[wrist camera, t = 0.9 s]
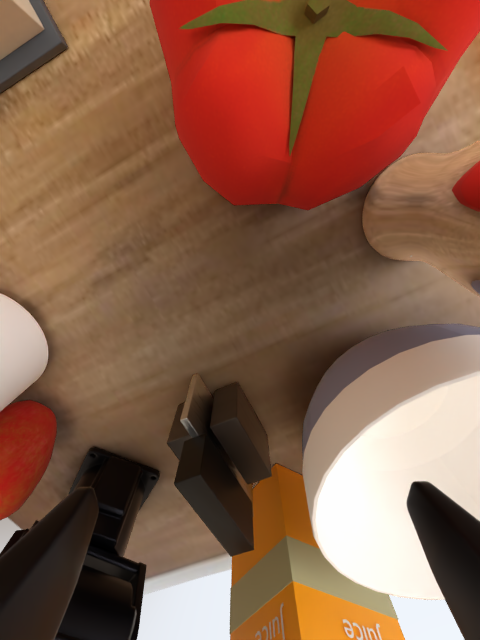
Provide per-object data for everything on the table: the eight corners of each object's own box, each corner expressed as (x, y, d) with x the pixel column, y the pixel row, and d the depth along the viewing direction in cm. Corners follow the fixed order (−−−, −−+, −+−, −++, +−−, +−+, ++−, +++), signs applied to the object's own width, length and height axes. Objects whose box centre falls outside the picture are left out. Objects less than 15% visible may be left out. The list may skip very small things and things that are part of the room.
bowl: (431, 239, 18) (616, 273, 9) (522, 396, 23) (704, 519, 14) (241, 377, 22) (242, 495, 13) (351, 487, 26) (407, 629, 18)
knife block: (267, 435, 24) (272, 476, 20) (211, 454, 25) (207, 498, 21) (237, 381, 22) (236, 416, 18) (178, 404, 23) (166, 443, 19)
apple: (85, 445, 24) (24, 540, 18) (14, 446, 25) (-75, 541, 18) (67, 384, 22) (-12, 465, 15) (-12, 385, 22) (-126, 467, 15)
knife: (256, 457, 25) (264, 563, 18) (240, 463, 25) (241, 570, 18) (204, 370, 22) (186, 455, 14) (186, 377, 22) (158, 465, 15)
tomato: (433, 19, 14) (720, -254, 6) (309, 243, 18) (369, 276, 10) (240, -121, 12) (242, -812, 4) (151, 161, 16) (58, 116, 8)
